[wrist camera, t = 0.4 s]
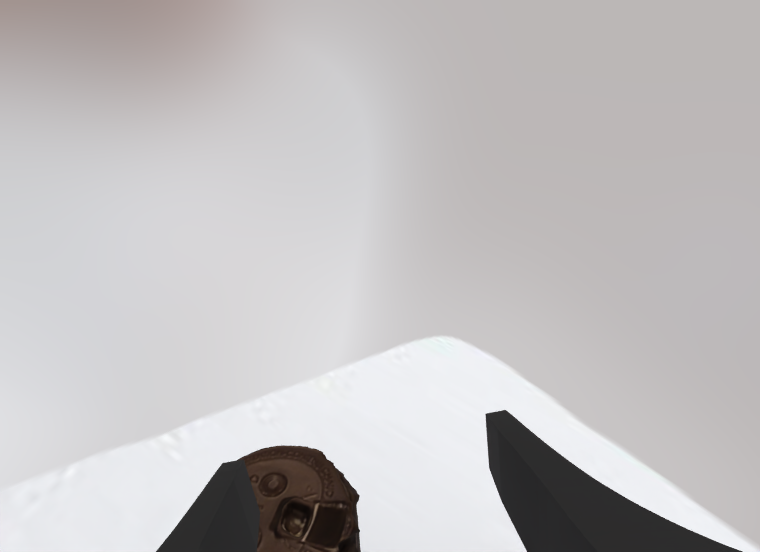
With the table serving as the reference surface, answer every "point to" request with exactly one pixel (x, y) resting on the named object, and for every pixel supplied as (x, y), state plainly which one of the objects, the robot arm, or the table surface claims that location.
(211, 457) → the table surface
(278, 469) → the coffee cup
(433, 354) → the table surface
